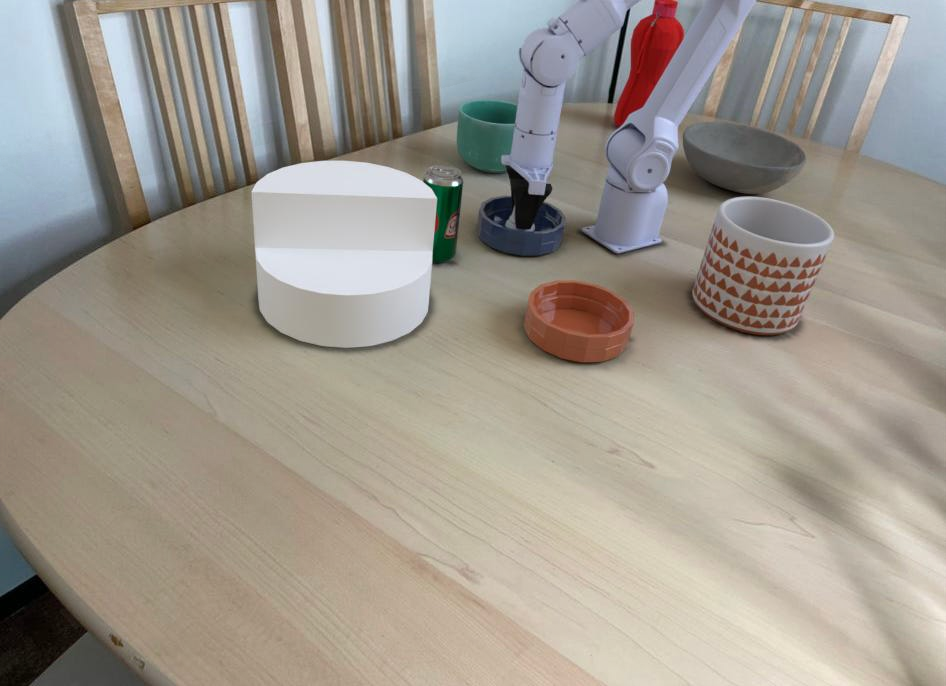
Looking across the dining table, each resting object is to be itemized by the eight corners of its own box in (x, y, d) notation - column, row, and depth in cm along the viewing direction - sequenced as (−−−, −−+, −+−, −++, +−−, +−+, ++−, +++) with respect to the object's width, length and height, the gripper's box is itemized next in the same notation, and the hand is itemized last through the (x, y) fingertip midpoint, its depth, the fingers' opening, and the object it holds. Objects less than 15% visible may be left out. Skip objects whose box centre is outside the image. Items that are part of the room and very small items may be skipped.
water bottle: (602, 127, 154) (629, -4, 140) (628, 117, 161) (657, -8, 147) (641, 140, 149) (673, 6, 135) (666, 130, 156) (699, 2, 142)
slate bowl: (526, 213, 114) (530, 190, 112) (578, 248, 107) (583, 224, 104) (460, 227, 108) (463, 202, 106) (510, 264, 100) (514, 239, 98)
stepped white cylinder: (251, 348, 79) (242, 234, 71) (264, 257, 95) (258, 156, 87) (438, 347, 83) (448, 240, 75) (420, 260, 99) (427, 164, 91)
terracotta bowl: (580, 298, 95) (585, 272, 93) (648, 348, 87) (656, 321, 85) (503, 320, 89) (507, 293, 87) (569, 376, 81) (575, 348, 79)
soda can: (450, 267, 98) (459, 181, 91) (413, 260, 98) (419, 174, 92) (458, 250, 102) (468, 167, 95) (423, 244, 103) (429, 160, 96)
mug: (497, 186, 122) (505, 129, 117) (439, 162, 128) (444, 107, 123) (551, 163, 134) (561, 110, 128) (495, 142, 139) (502, 91, 134)
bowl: (802, 185, 138) (818, 144, 133) (776, 221, 123) (793, 175, 118) (693, 153, 146) (705, 113, 142) (655, 183, 131) (667, 139, 126)
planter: (723, 271, 105) (752, 187, 98) (815, 314, 98) (853, 227, 91) (671, 300, 97) (698, 210, 90) (766, 350, 89) (804, 256, 82)
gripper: (500, 107, 104) (488, 198, 111) (512, 144, 92) (498, 243, 100) (550, 112, 105) (535, 201, 112) (568, 149, 93) (550, 246, 100)
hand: (521, 221), depth 106 cm, fingers closed on rook chess piece, 3 cm apart
